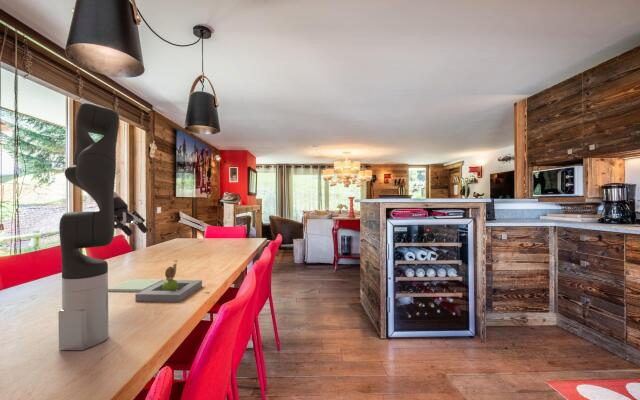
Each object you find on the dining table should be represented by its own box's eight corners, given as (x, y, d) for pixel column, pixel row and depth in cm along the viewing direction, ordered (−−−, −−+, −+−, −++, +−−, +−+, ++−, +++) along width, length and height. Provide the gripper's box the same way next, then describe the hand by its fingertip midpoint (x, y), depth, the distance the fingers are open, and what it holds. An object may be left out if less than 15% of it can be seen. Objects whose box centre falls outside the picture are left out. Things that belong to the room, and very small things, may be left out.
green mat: (142, 291, 115) (142, 289, 115) (107, 291, 116) (107, 289, 116) (163, 281, 129) (163, 279, 129) (132, 281, 130) (131, 279, 130)
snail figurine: (182, 290, 116) (182, 260, 116) (172, 296, 110) (172, 264, 110) (169, 290, 117) (169, 260, 117) (159, 295, 111) (159, 263, 110)
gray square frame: (179, 301, 104) (179, 294, 104) (135, 301, 105) (135, 294, 105) (202, 286, 122) (202, 280, 122) (164, 285, 123) (164, 279, 123)
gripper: (102, 196, 107) (132, 228, 107) (130, 196, 122) (157, 224, 121) (88, 210, 108) (118, 242, 107) (118, 208, 122) (144, 237, 121)
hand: (139, 233), depth 114 cm, fingers open, 8 cm apart
